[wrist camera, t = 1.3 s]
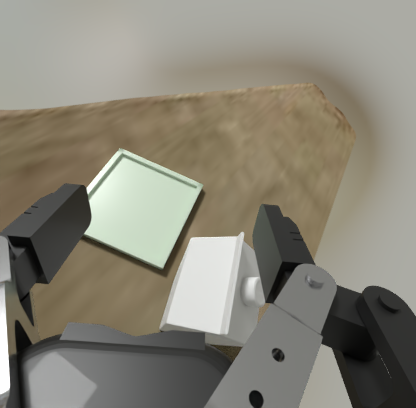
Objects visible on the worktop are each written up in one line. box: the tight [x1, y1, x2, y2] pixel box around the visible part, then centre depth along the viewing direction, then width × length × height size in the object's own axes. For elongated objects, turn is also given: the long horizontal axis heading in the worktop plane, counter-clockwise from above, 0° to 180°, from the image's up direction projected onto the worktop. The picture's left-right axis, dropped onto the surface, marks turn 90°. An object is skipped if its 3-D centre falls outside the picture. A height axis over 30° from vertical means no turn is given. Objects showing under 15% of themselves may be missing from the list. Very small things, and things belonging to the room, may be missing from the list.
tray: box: [83, 148, 203, 270], centre depth 38 cm, size 16×16×1 cm
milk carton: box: [159, 232, 265, 347], centre depth 24 cm, size 7×7×19 cm
